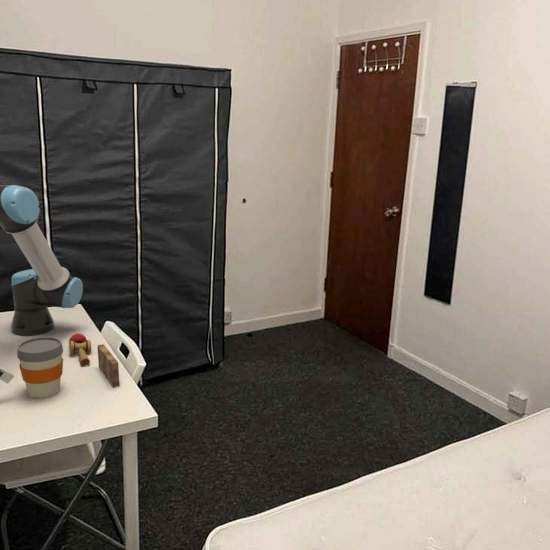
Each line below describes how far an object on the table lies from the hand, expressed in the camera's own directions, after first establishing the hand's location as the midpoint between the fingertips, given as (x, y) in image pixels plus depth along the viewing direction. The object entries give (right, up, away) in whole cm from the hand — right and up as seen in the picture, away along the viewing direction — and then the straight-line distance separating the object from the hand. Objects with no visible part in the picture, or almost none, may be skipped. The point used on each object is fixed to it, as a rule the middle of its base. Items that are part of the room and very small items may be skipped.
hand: (10, 379), depth 160 cm
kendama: (+10, +2, +31) cm, 33 cm away
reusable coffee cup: (+7, -5, +6) cm, 11 cm away
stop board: (+24, -2, +16) cm, 29 cm away
